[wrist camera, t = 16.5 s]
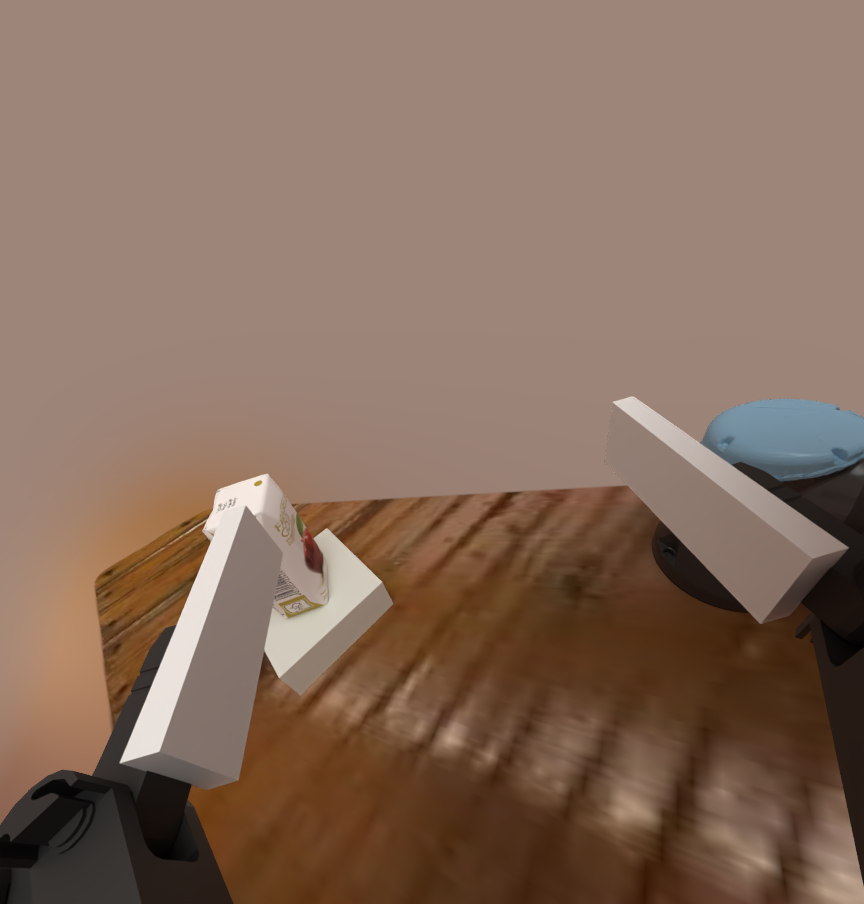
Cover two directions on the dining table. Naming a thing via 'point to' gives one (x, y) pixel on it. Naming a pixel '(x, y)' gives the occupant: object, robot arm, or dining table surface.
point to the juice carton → (279, 542)
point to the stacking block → (326, 618)
